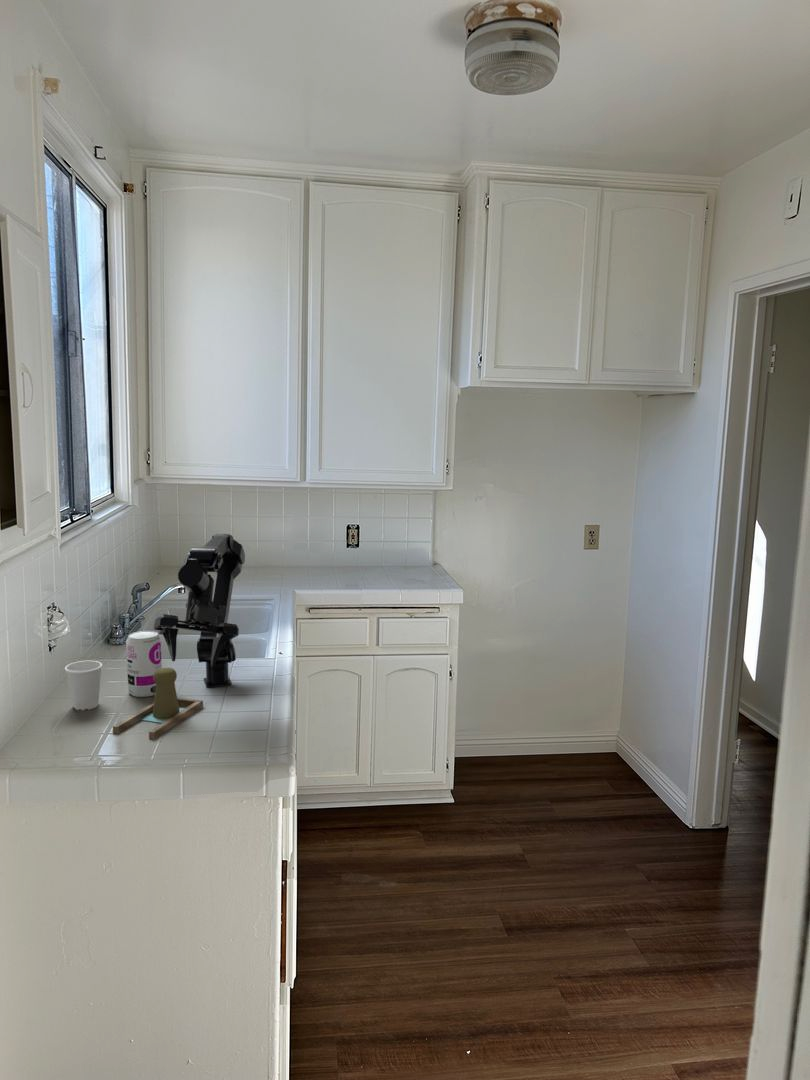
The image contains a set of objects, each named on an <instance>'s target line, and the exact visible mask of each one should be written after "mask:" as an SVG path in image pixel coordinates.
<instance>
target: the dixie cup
mask: <svg viewBox="0 0 810 1080" xmlns="http://www.w3.org/2000/svg"><path fill="white" fill-rule="evenodd" d="M102 667H103V663H102V662H100V661H97V660H80V661H75V662H74V661H73V662H71V663H69V664H67V665H66V666H65V667H64V671H65V672H66V678H67V683H68V688H69V693H70V698H71V702H72V703H71V704H72V707H74V708H76V709H84V710H83V711H86V710H85V709H88V710H92V709H95V708H97V707H98V706H99V704H100V703H99V702H100V701H99V700H100V692H101V690H100V689H101V677H102ZM74 708H73V709H74ZM76 709H75V710H76Z"/></svg>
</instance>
